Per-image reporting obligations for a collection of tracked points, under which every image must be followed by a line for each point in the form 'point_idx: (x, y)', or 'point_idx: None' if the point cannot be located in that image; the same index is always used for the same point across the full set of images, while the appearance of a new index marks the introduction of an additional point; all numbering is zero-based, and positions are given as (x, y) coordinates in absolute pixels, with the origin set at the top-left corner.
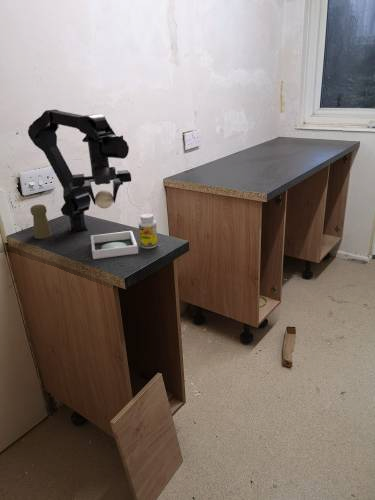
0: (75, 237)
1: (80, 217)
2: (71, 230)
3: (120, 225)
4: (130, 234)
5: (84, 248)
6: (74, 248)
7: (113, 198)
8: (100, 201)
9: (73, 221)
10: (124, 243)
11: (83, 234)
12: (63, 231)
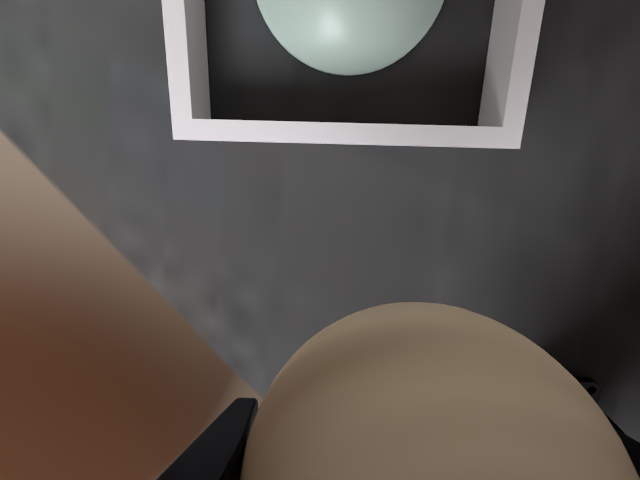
0: (575, 283)
1: None
2: (584, 388)
3: (261, 389)
4: (193, 83)
5: (564, 43)
6: (632, 72)
7: (236, 451)
8: (537, 353)
9: (615, 424)
10: (262, 11)
11: (514, 317)
12: (621, 408)
